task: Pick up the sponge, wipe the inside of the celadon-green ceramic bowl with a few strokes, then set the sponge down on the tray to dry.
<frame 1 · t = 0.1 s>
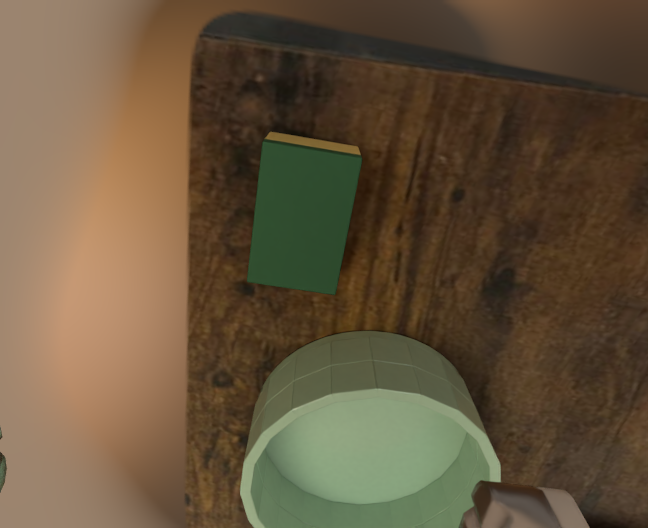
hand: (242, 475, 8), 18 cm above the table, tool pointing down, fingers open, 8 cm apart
bowl: (363, 422, 31), on the table
sponge: (304, 205, 25), on the table
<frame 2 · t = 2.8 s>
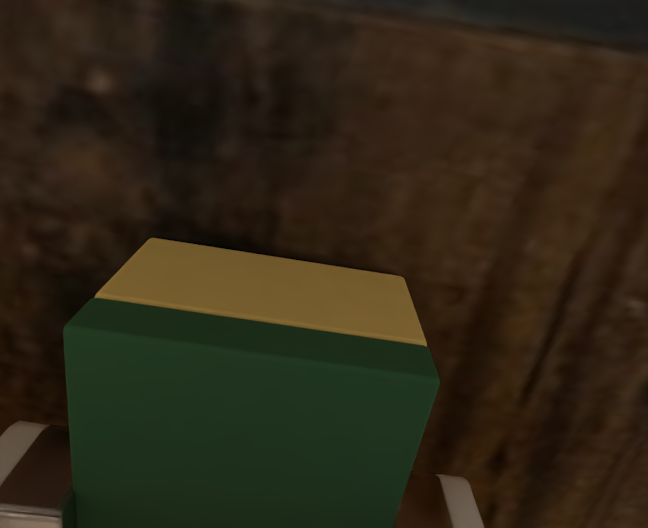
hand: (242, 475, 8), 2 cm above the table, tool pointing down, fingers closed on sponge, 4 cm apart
sponge: (257, 411, 10), on the table, touching gripper
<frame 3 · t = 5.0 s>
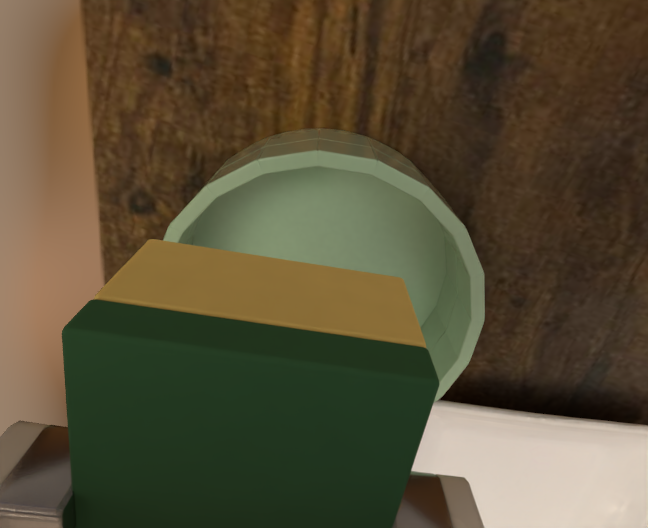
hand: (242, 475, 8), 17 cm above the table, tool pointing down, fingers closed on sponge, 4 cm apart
bowl: (319, 264, 25), on the table
sponge: (256, 412, 10), point 15 cm above the table, touching gripper
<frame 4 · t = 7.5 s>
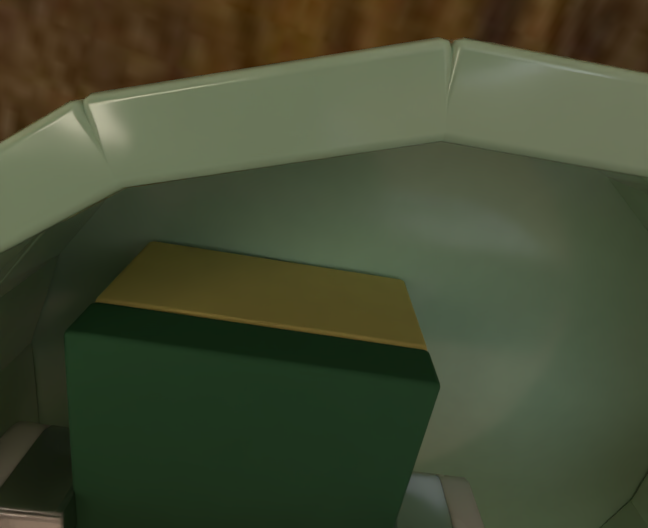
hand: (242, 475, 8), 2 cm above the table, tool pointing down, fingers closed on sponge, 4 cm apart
bowl: (354, 400, 11), on the table
sponge: (257, 413, 10), point 1 cm above the table, touching gripper
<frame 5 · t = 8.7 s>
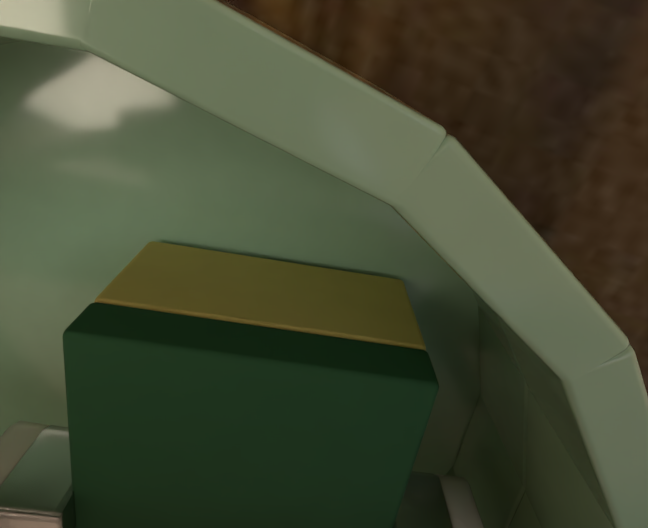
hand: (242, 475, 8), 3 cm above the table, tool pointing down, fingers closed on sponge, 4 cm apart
bowl: (167, 366, 10), on the table
sponge: (257, 413, 10), point 1 cm above the table, touching gripper
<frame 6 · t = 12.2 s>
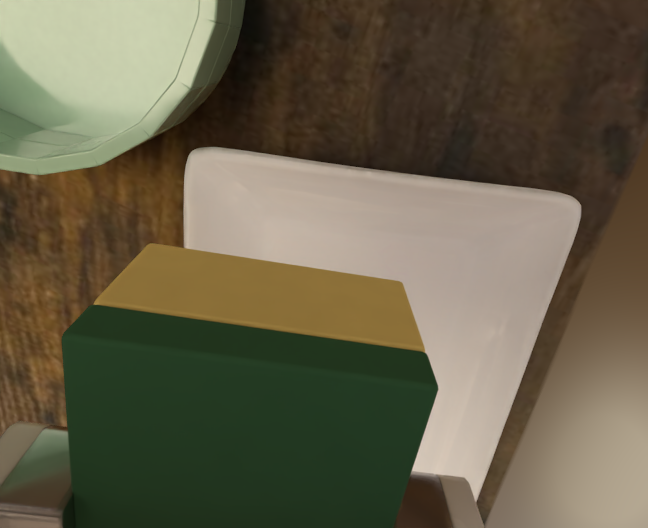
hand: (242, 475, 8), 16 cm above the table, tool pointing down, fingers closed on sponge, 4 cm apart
tray: (335, 411, 29), on the table
sponge: (256, 415, 10), point 15 cm above the table, touching gripper
when the fingers open (5 cm above the table, at t = 15.3 s): sponge stays where it is, resting on tray.
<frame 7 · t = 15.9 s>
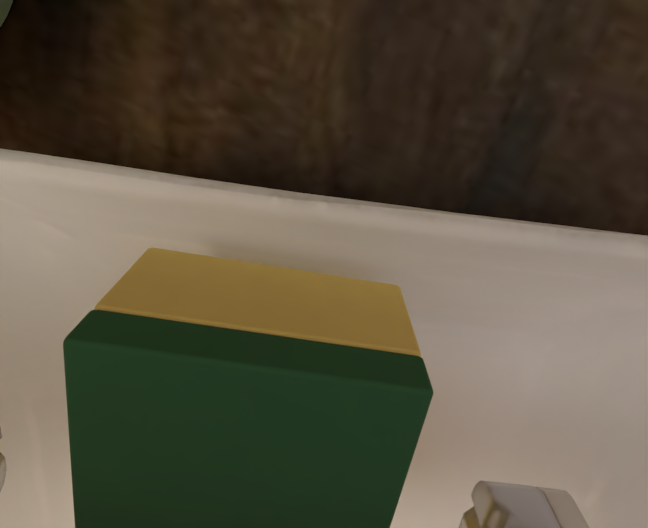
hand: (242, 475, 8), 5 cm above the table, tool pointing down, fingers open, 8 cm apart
sponge: (255, 417, 10), point 3 cm above the table, touching tray
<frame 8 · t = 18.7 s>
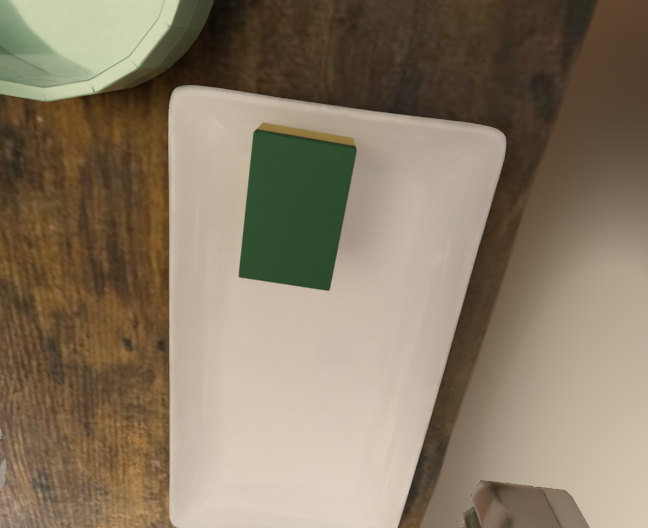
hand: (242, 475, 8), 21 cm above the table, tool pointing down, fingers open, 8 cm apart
tray: (307, 340, 32), on the table, touching sponge
sponge: (297, 198, 24), point 3 cm above the table, touching tray
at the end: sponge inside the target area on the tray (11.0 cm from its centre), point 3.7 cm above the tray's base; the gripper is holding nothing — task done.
